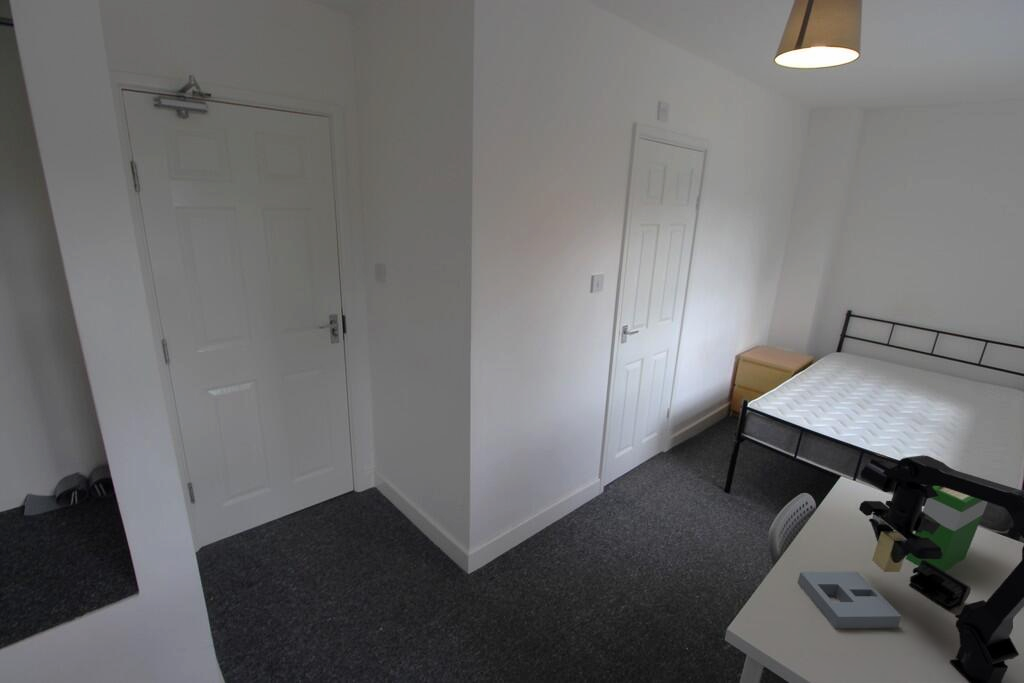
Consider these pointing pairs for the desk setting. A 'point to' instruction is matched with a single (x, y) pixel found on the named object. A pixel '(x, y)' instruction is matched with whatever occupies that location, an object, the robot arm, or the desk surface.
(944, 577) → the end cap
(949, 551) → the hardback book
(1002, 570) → the desk surface
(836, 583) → the slate bore board
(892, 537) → the brass square bit
